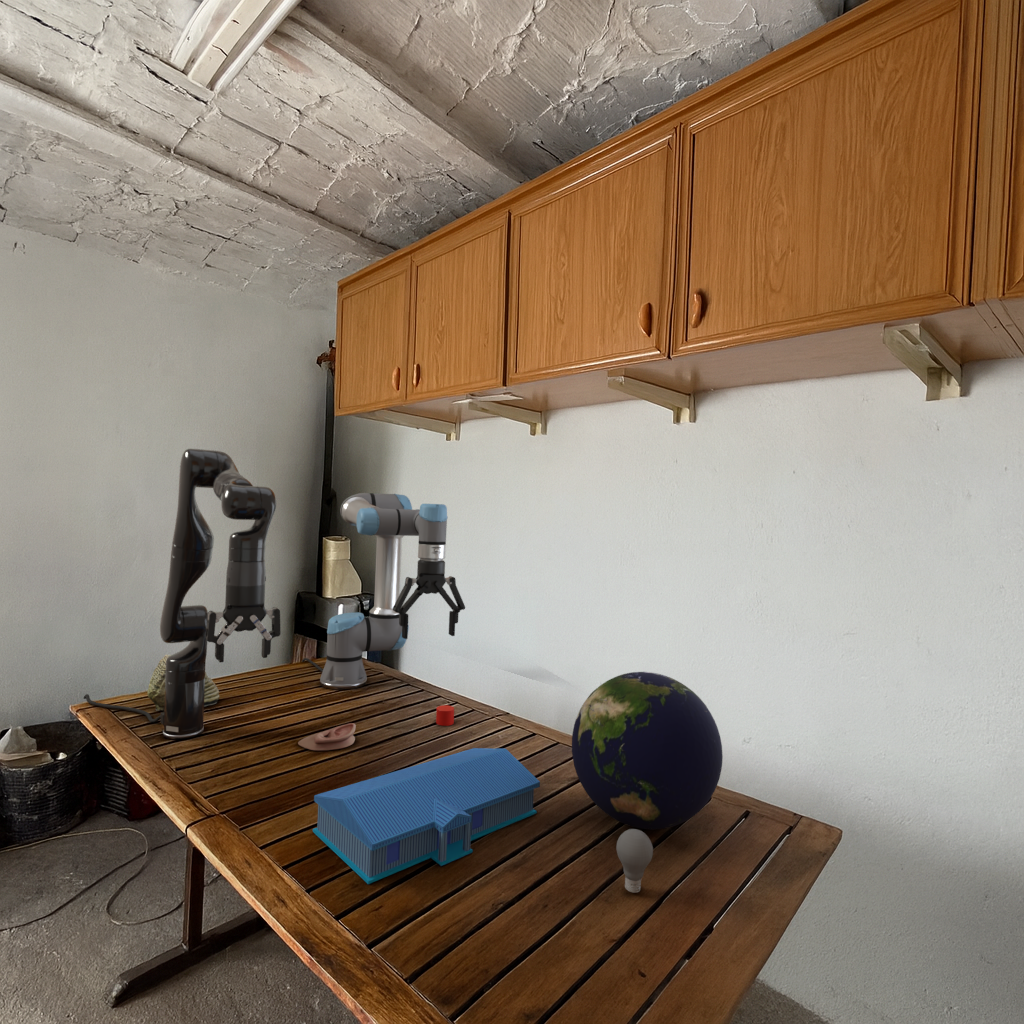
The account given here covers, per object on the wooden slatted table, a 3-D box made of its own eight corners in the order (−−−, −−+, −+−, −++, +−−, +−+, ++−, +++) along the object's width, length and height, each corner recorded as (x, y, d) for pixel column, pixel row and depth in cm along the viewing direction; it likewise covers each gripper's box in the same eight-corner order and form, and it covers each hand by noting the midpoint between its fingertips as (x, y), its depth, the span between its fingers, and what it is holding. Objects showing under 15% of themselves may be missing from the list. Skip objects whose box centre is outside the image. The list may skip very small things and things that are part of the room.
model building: (378, 893, 102) (380, 832, 102) (311, 830, 120) (313, 778, 120) (548, 819, 128) (550, 770, 128) (472, 776, 146) (474, 733, 146)
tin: (453, 726, 179) (454, 711, 179) (435, 725, 178) (436, 710, 178) (453, 719, 184) (454, 705, 184) (436, 719, 183) (437, 705, 183)
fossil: (144, 707, 182) (145, 655, 182) (212, 696, 194) (213, 647, 194) (151, 716, 175) (153, 662, 175) (221, 703, 188) (223, 653, 188)
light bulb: (610, 879, 108) (613, 822, 108) (644, 879, 109) (647, 822, 109) (619, 902, 102) (622, 840, 102) (655, 901, 103) (658, 840, 103)
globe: (548, 837, 121) (555, 681, 121) (589, 777, 149) (595, 650, 148) (711, 879, 110) (720, 707, 109) (723, 805, 138) (730, 668, 137)
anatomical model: (291, 731, 158) (315, 716, 169) (291, 747, 158) (314, 731, 169) (341, 738, 155) (361, 722, 167) (340, 754, 155) (360, 737, 167)
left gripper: (276, 578, 139) (273, 651, 139) (205, 580, 131) (202, 658, 131) (286, 583, 132) (282, 660, 133) (211, 585, 124) (208, 667, 125)
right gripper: (391, 561, 165) (387, 642, 166) (478, 560, 177) (475, 636, 177) (383, 558, 172) (380, 636, 172) (468, 558, 183) (465, 631, 184)
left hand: (242, 659), depth 132 cm, fingers open, 8 cm apart
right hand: (428, 636), depth 175 cm, fingers open, 13 cm apart
